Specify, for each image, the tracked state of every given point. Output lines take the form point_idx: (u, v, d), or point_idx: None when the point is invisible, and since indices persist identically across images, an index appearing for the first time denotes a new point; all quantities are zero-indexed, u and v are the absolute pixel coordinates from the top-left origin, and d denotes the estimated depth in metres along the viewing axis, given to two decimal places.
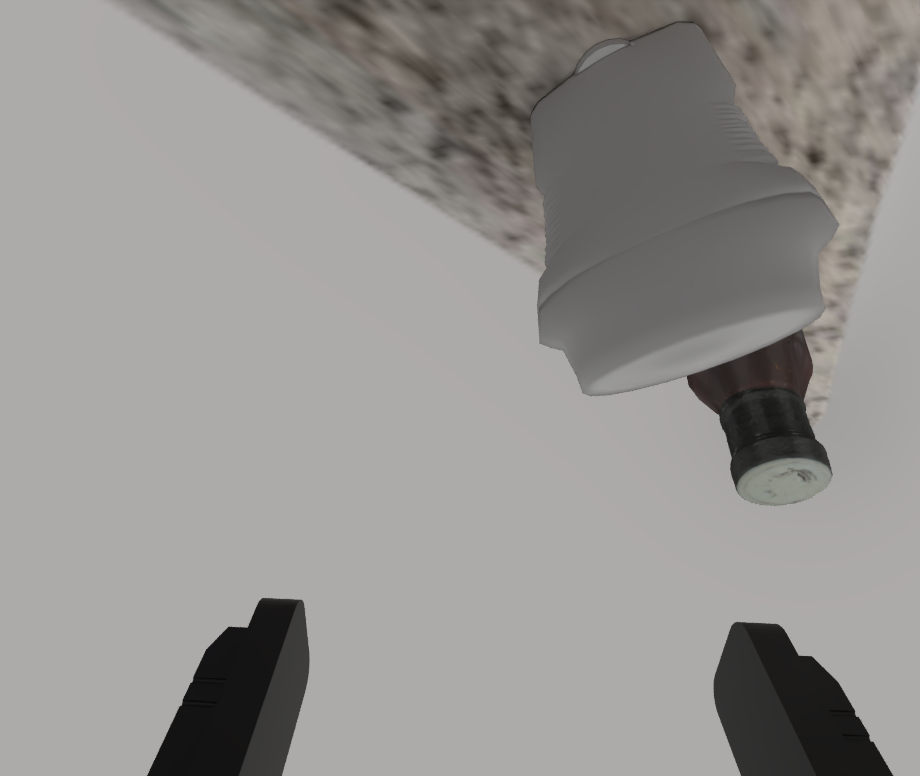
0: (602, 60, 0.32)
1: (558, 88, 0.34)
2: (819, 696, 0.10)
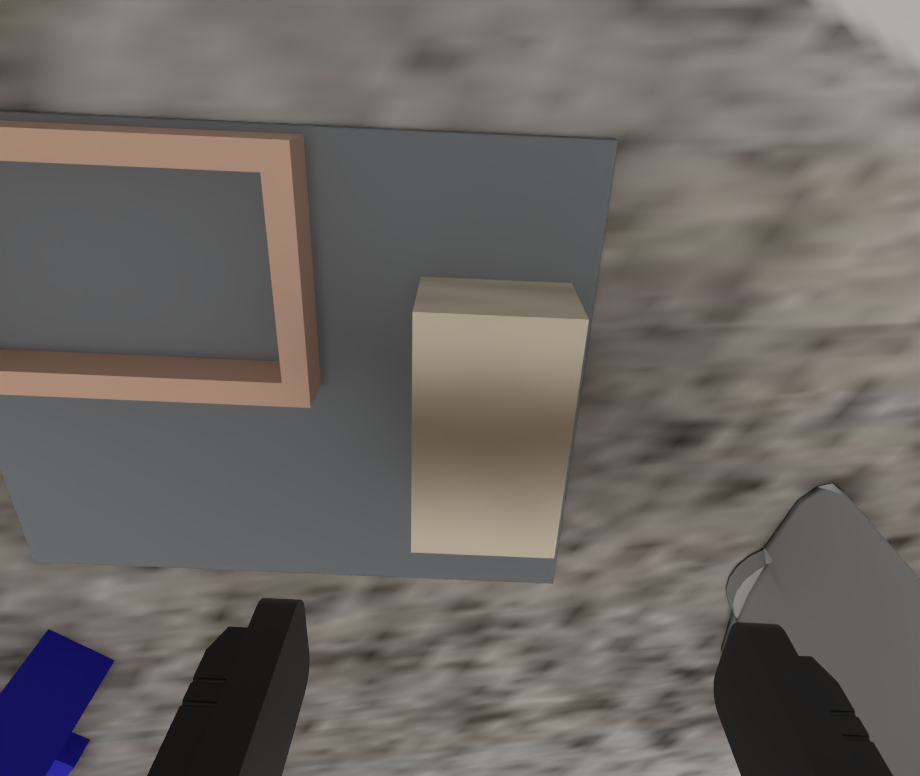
0: (752, 600, 0.23)
1: None
2: (819, 696, 0.10)
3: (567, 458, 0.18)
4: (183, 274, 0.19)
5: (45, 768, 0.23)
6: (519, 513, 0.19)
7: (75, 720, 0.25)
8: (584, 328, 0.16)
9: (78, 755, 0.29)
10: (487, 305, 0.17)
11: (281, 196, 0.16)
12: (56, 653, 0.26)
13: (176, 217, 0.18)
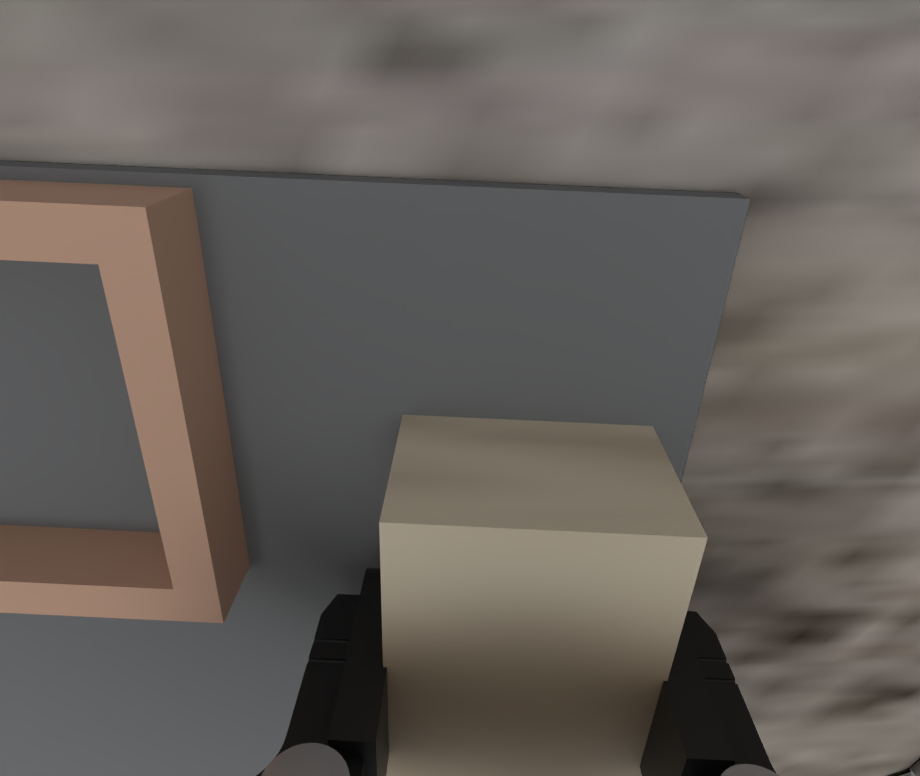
0: None
1: None
2: (690, 644, 0.11)
3: None
4: (15, 409, 0.11)
5: None
6: None
7: None
8: (697, 550, 0.09)
9: None
10: (516, 494, 0.09)
11: (141, 305, 0.09)
12: None
13: None
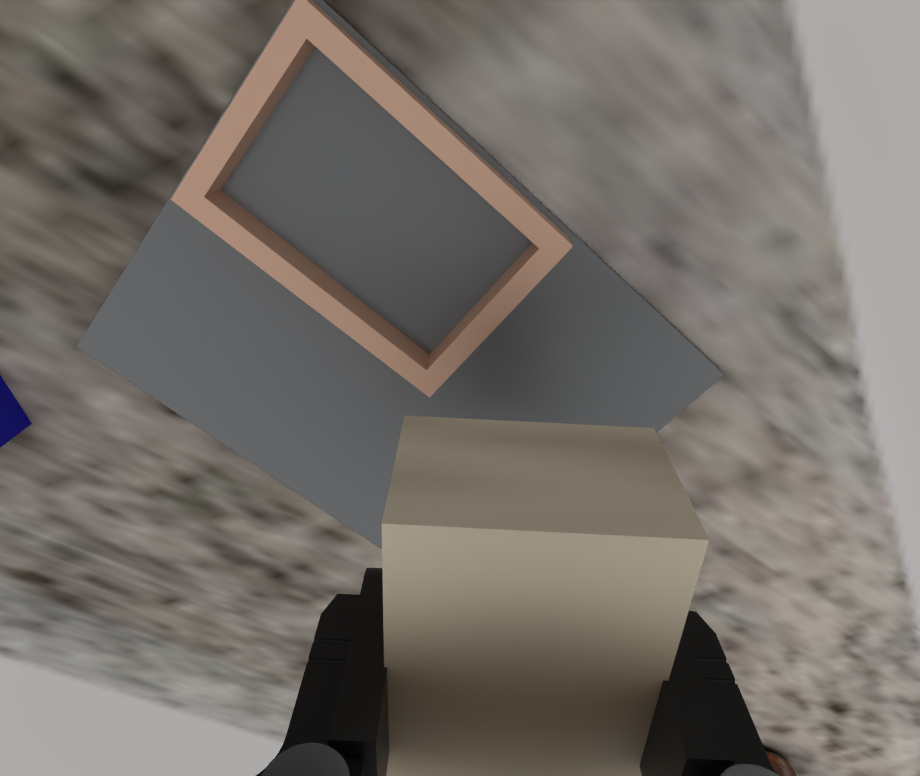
0: None
1: None
2: (690, 643, 0.11)
3: None
4: (411, 250, 0.23)
5: None
6: None
7: None
8: (699, 553, 0.09)
9: None
10: (518, 496, 0.09)
11: (537, 270, 0.21)
12: None
13: (443, 216, 0.22)
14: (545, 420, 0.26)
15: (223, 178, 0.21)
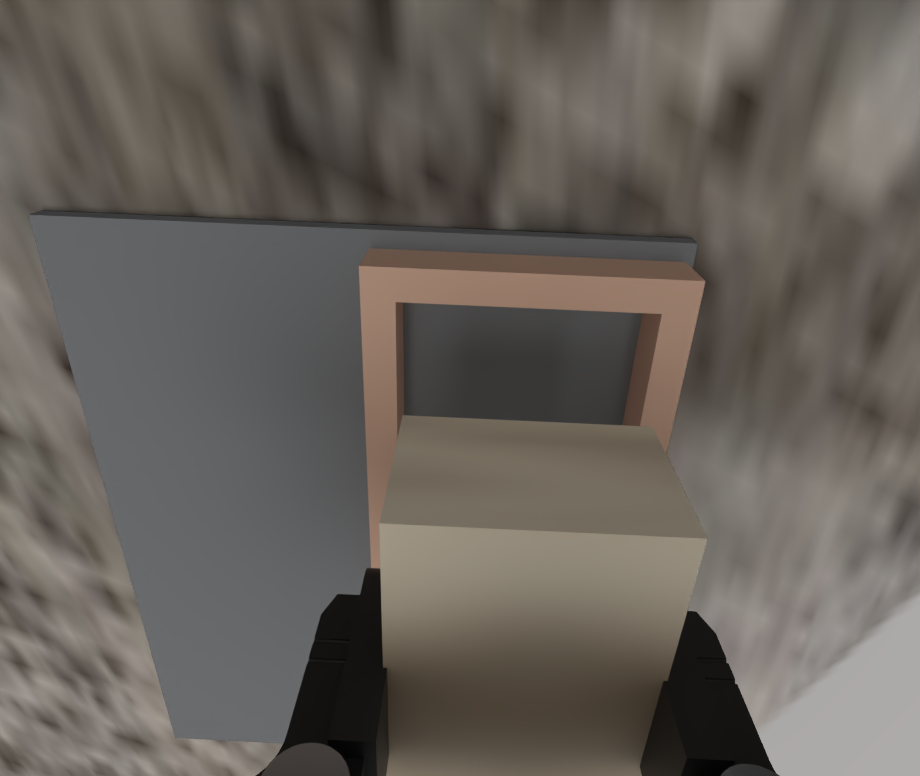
0: None
1: None
2: (690, 644, 0.11)
3: None
4: None
5: None
6: None
7: None
8: (697, 551, 0.09)
9: None
10: (516, 496, 0.09)
11: None
12: None
13: None
14: None
15: None
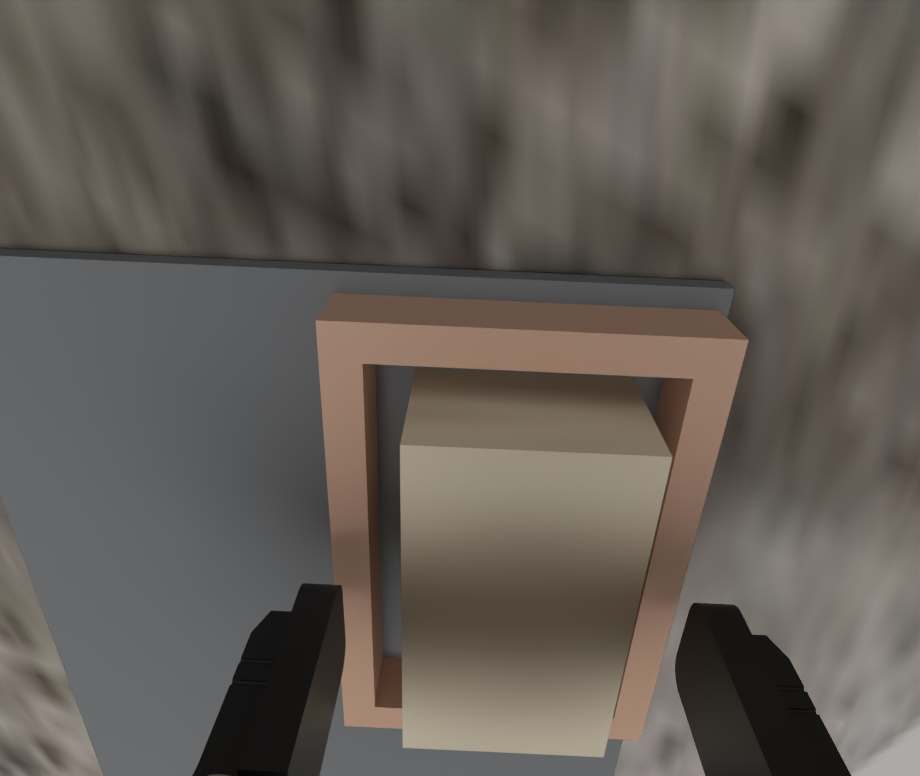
0: None
1: None
2: (768, 671, 0.10)
3: (628, 638, 0.12)
4: None
5: None
6: (556, 704, 0.13)
7: None
8: (664, 468, 0.10)
9: None
10: (513, 426, 0.11)
11: None
12: None
13: None
14: None
15: None
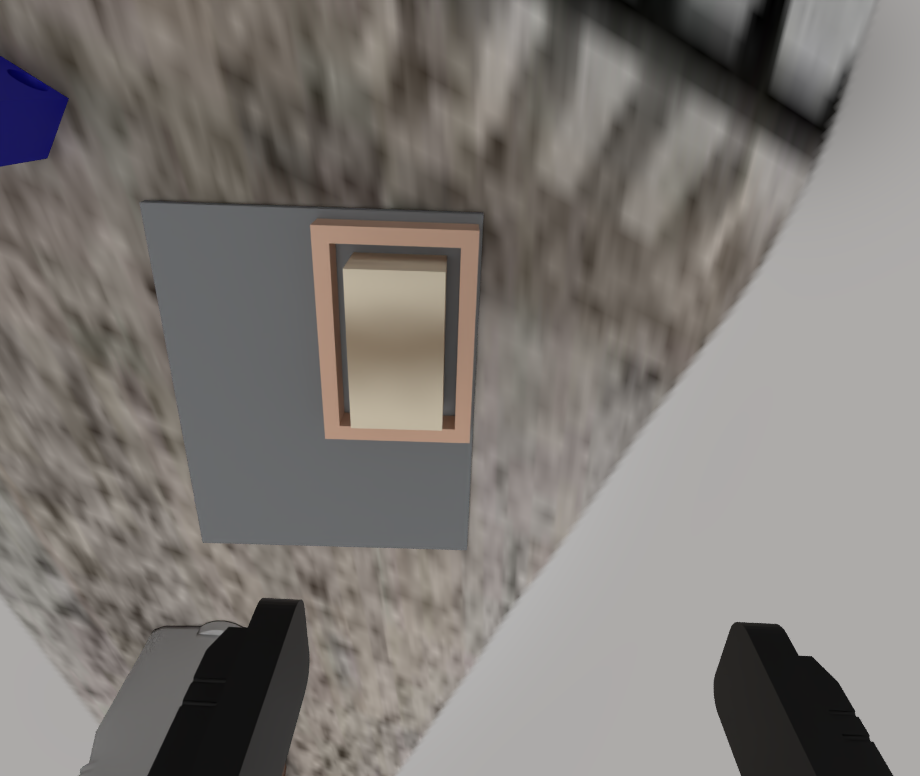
0: None
1: (182, 630, 0.41)
2: (819, 696, 0.10)
3: (442, 360, 0.29)
4: None
5: None
6: (417, 399, 0.30)
7: (7, 163, 0.26)
8: (443, 277, 0.27)
9: None
10: (388, 265, 0.28)
11: (443, 437, 0.33)
12: (52, 116, 0.27)
13: None
14: (364, 495, 0.36)
15: None
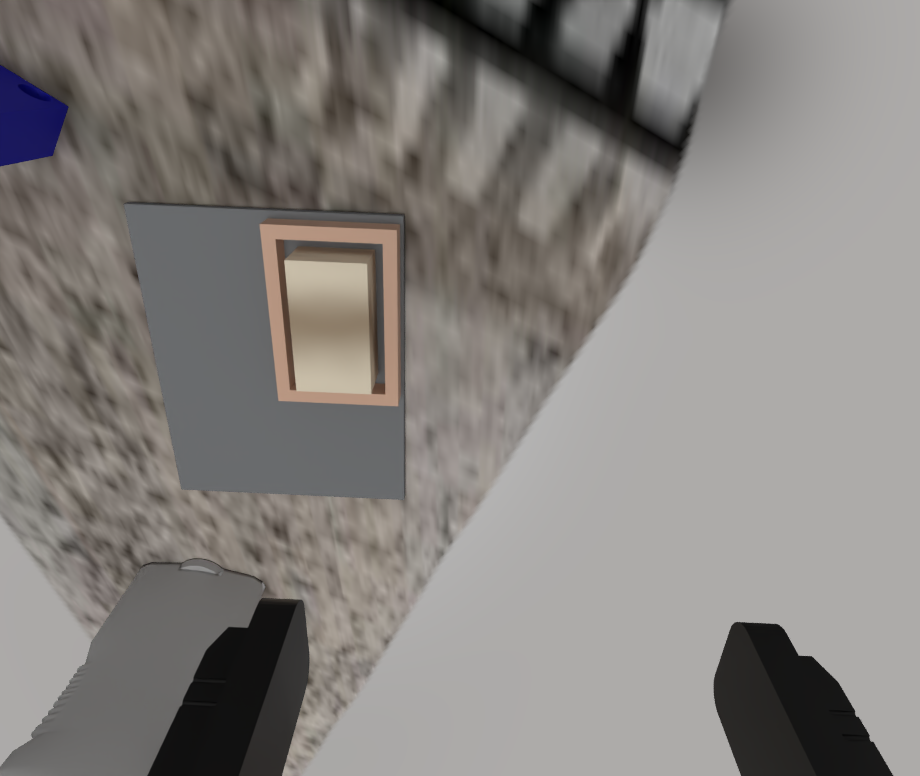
0: (196, 573, 0.47)
1: (166, 566, 0.48)
2: (819, 696, 0.10)
3: (368, 336, 0.36)
4: None
5: None
6: (349, 367, 0.37)
7: (19, 160, 0.32)
8: (365, 268, 0.34)
9: None
10: (322, 257, 0.34)
11: (376, 401, 0.39)
12: (55, 122, 0.33)
13: None
14: (315, 451, 0.43)
15: None
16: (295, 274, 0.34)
